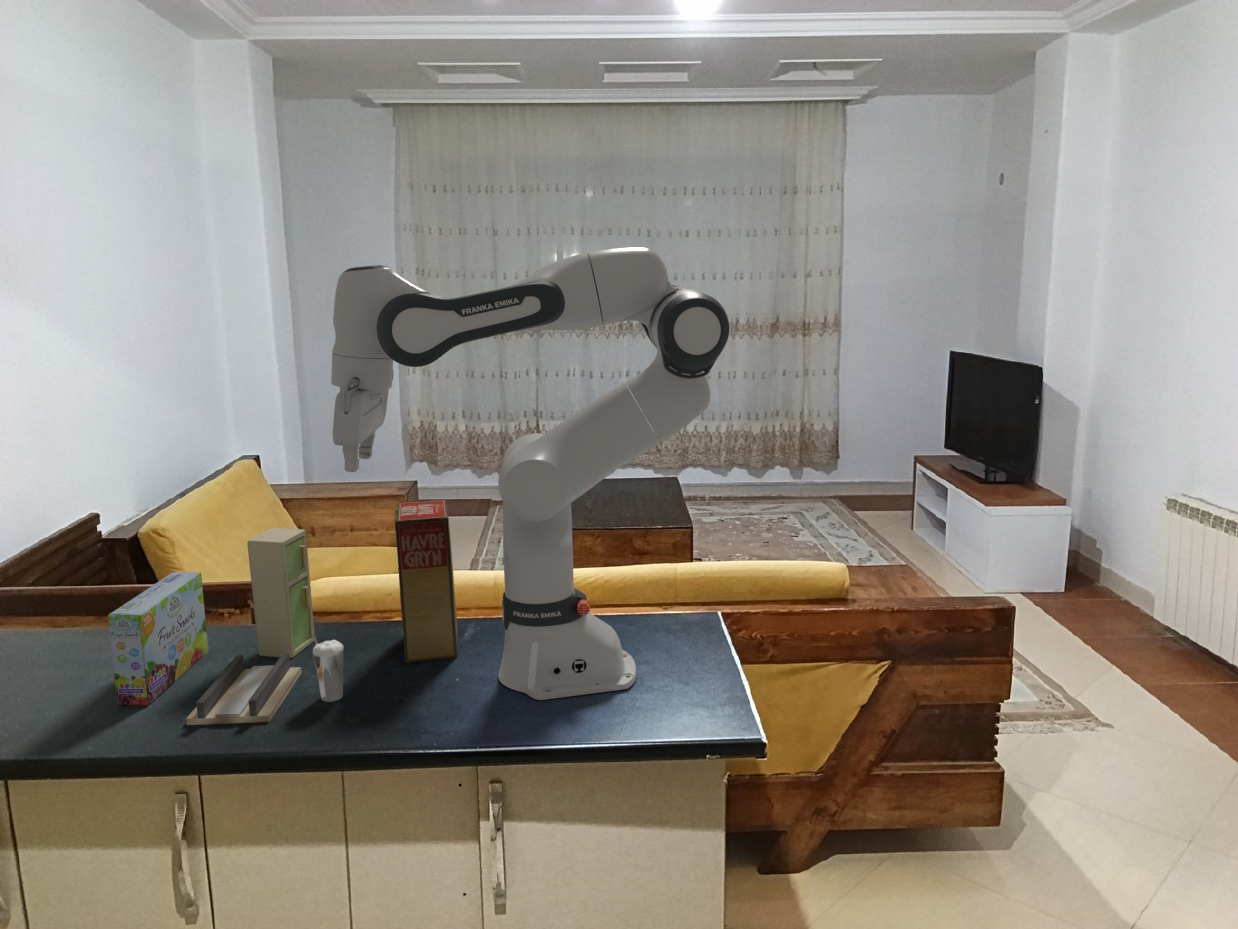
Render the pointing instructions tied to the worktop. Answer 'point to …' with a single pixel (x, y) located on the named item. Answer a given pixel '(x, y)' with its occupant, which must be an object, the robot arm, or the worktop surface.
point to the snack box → (157, 637)
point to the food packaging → (426, 580)
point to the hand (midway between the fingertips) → (358, 464)
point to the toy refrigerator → (281, 591)
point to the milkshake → (329, 669)
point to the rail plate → (245, 693)
